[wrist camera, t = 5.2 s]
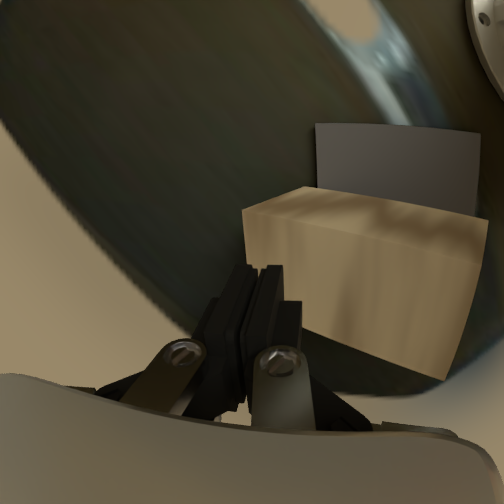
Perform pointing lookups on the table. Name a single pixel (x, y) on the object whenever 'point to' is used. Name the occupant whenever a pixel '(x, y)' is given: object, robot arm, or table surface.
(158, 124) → the table surface
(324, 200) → the maple block
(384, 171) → the mat
